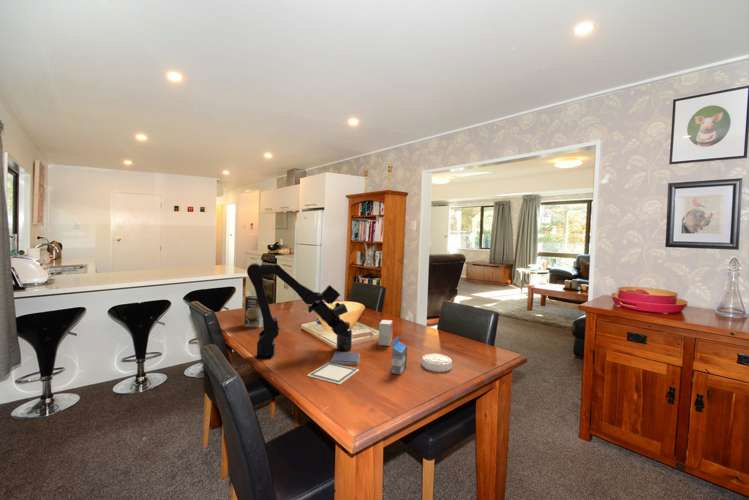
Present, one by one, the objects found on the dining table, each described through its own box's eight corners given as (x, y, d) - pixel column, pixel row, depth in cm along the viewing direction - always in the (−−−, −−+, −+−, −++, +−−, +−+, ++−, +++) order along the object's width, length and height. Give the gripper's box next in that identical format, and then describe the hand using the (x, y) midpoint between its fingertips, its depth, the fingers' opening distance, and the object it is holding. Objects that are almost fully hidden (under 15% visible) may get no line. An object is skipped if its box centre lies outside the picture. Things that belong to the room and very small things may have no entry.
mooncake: (429, 373, 126) (429, 364, 126) (417, 361, 137) (417, 353, 137) (457, 371, 129) (457, 362, 129) (443, 359, 141) (443, 351, 140)
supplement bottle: (336, 346, 152) (337, 320, 152) (351, 346, 153) (352, 321, 152) (336, 351, 145) (336, 324, 145) (351, 351, 146) (352, 325, 146)
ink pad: (330, 364, 131) (330, 360, 131) (334, 354, 142) (335, 351, 142) (358, 365, 131) (358, 362, 131) (360, 355, 142) (360, 352, 142)
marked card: (307, 375, 119) (307, 374, 119) (328, 363, 132) (328, 361, 132) (339, 384, 113) (339, 383, 113) (359, 370, 126) (359, 369, 126)
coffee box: (244, 326, 179) (244, 297, 179) (250, 323, 186) (250, 295, 185) (259, 328, 178) (260, 298, 177) (265, 325, 184) (265, 296, 183)
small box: (389, 346, 155) (390, 324, 154) (378, 345, 156) (379, 323, 156) (392, 341, 163) (393, 320, 162) (381, 340, 164) (382, 319, 163)
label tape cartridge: (400, 375, 123) (401, 342, 122) (390, 373, 124) (391, 341, 124) (406, 366, 131) (407, 336, 131) (397, 365, 132) (398, 335, 132)
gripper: (342, 302, 138) (366, 326, 142) (332, 294, 156) (353, 316, 160) (323, 322, 136) (348, 346, 140) (315, 312, 153) (337, 333, 157)
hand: (347, 334), depth 149 cm, fingers closed on supplement bottle, 7 cm apart
